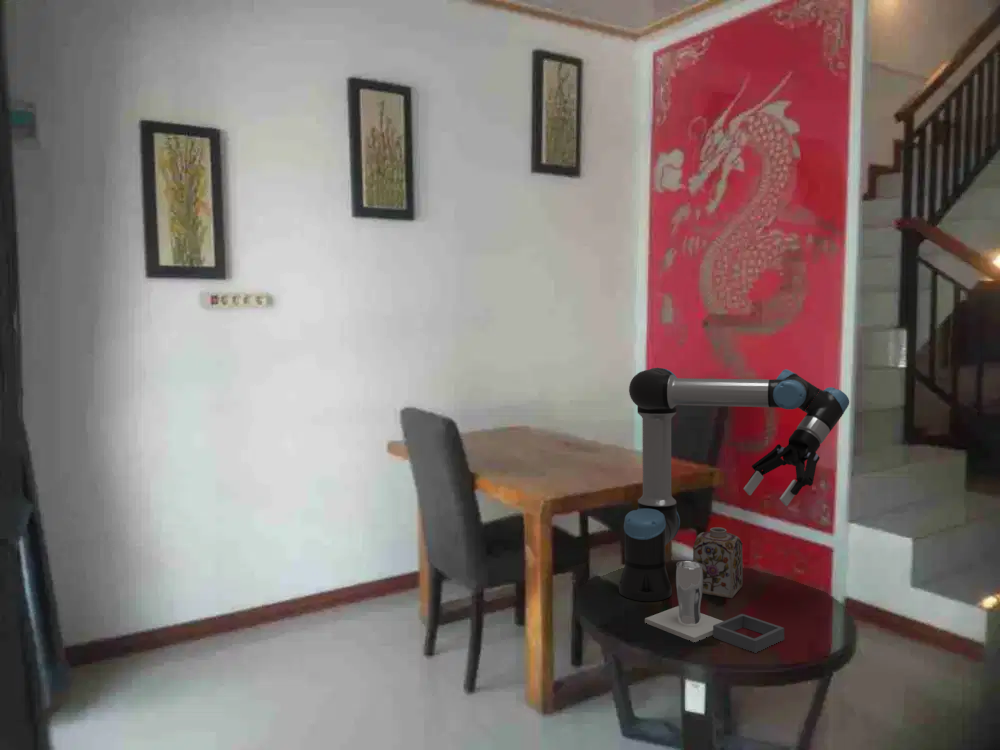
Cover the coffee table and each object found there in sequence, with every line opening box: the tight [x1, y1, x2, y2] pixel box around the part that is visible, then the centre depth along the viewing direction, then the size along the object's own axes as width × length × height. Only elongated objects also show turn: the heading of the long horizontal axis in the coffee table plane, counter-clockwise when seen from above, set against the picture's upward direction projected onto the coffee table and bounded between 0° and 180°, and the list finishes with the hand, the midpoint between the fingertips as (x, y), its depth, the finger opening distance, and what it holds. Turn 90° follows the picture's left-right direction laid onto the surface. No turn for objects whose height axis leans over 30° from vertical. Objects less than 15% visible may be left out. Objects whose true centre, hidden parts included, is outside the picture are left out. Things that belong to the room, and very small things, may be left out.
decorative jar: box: [692, 526, 744, 599], centre depth 218 cm, size 12×12×18 cm
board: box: [644, 605, 724, 643], centre depth 193 cm, size 16×14×1 cm
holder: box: [712, 613, 785, 654], centre depth 184 cm, size 12×12×3 cm
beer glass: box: [674, 560, 703, 626], centre depth 192 cm, size 7×7×15 cm
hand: (764, 497), depth 197 cm, fingers open, 13 cm apart
